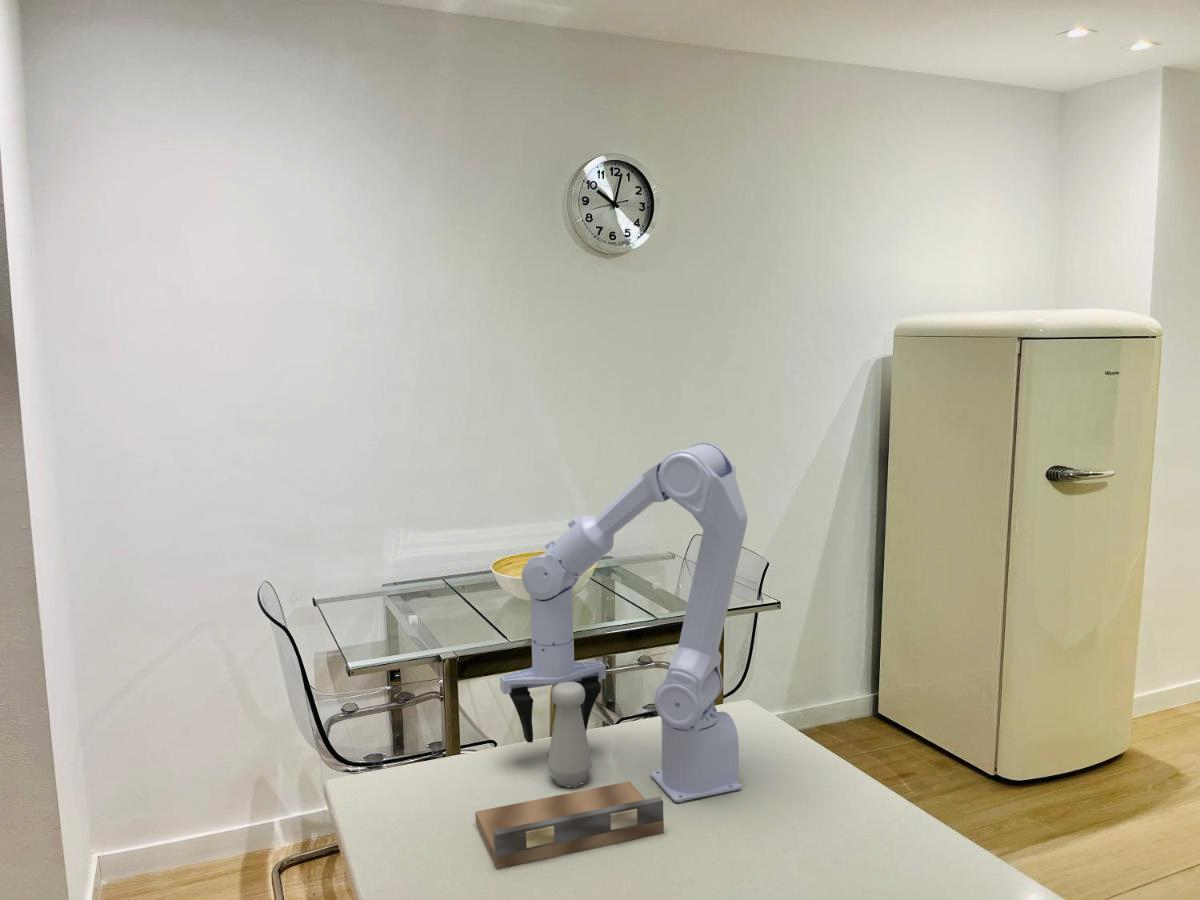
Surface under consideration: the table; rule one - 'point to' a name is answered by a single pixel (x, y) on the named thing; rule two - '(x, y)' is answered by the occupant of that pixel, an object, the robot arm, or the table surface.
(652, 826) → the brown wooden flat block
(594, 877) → the table surface
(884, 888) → the table surface
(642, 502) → the robot arm
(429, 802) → the table surface
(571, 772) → the salt shaker
